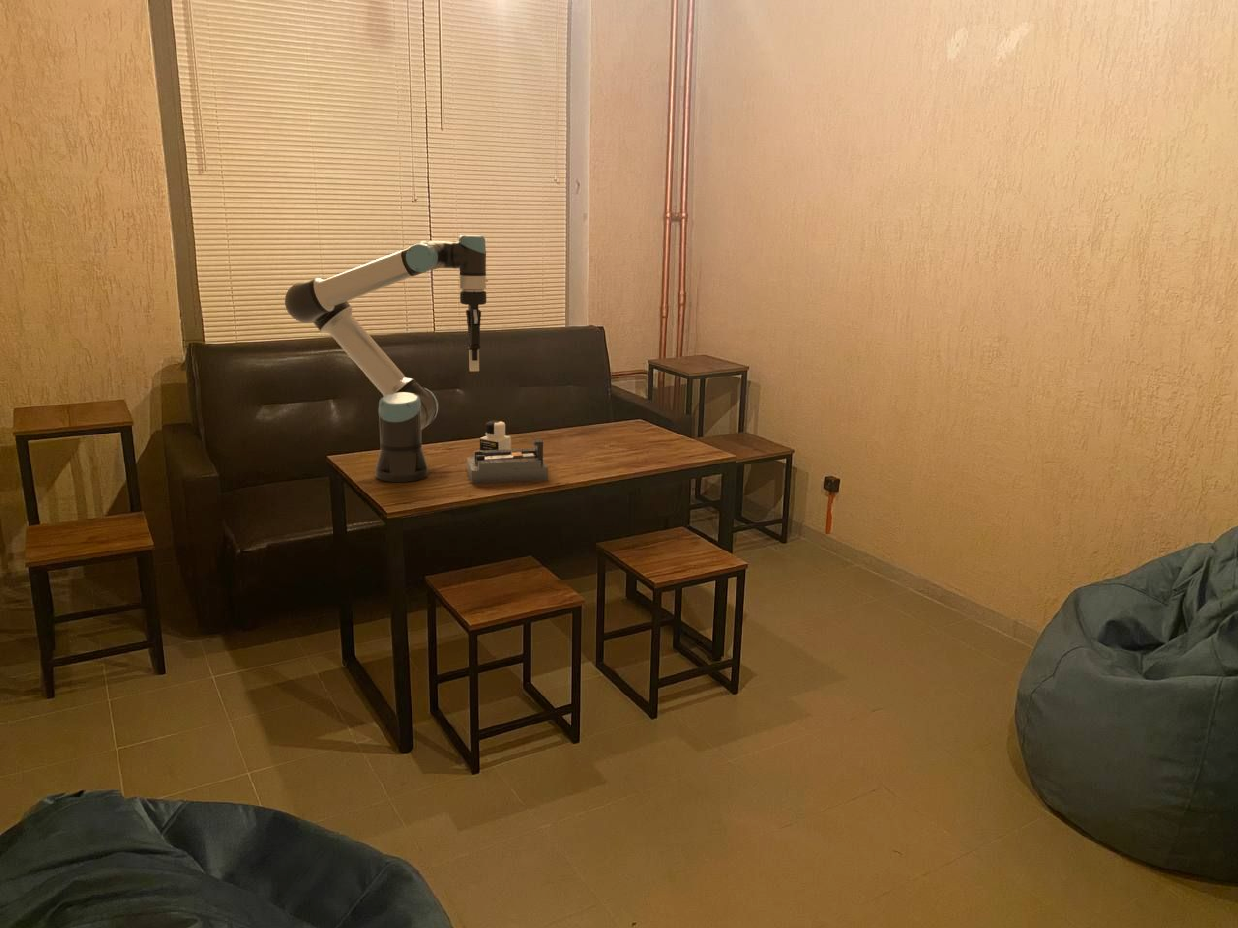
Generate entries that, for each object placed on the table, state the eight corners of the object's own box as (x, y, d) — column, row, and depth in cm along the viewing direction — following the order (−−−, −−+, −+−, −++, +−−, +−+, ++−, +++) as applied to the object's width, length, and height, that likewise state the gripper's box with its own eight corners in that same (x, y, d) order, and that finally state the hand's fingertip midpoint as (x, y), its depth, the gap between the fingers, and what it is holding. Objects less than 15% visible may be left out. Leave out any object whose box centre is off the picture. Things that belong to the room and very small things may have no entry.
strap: (477, 464, 260) (477, 458, 260) (476, 461, 264) (475, 454, 263) (534, 460, 264) (534, 454, 264) (532, 457, 268) (532, 450, 267)
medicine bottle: (479, 459, 280) (479, 422, 277) (492, 454, 286) (492, 418, 283) (498, 463, 277) (498, 425, 274) (511, 458, 283) (511, 421, 280)
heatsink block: (472, 484, 256) (471, 448, 253) (467, 470, 269) (466, 436, 266) (547, 480, 262) (548, 445, 259) (539, 466, 275) (539, 433, 272)
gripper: (489, 292, 254) (489, 374, 260) (483, 288, 266) (484, 366, 272) (462, 292, 252) (463, 375, 258) (457, 288, 264) (459, 367, 270)
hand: (474, 370), depth 265 cm, fingers closed
